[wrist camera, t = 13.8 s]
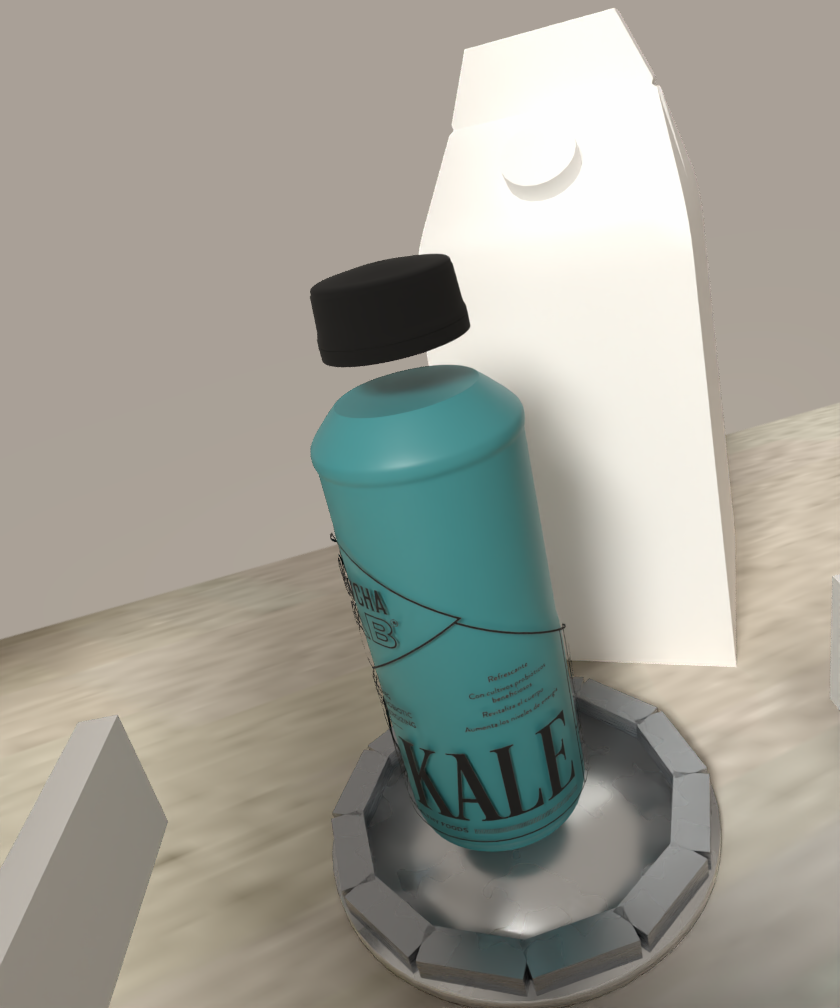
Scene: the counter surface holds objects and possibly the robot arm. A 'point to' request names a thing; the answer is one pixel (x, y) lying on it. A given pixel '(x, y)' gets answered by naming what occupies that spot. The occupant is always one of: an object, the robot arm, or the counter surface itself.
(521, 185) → the milk
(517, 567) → the beverage bottle
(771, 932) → the counter surface
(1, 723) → the counter surface
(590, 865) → the grey round plate
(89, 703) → the counter surface
